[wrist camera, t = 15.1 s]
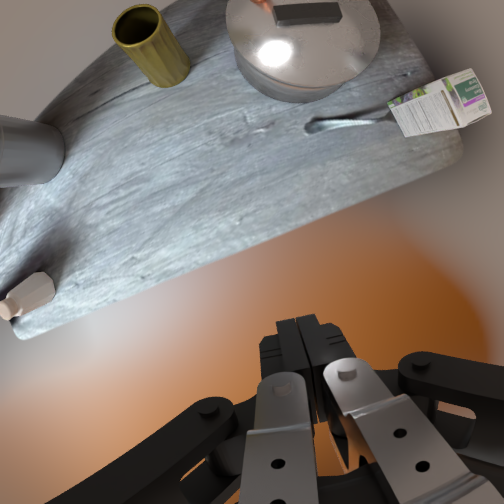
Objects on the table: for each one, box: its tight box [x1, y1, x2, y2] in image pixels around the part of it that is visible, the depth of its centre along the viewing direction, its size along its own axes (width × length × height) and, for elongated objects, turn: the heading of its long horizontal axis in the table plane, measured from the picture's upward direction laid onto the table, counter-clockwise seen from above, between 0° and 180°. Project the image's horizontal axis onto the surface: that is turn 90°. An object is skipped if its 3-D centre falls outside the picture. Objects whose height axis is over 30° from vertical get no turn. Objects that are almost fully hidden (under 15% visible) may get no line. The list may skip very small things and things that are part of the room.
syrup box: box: [387, 68, 492, 138], centre depth 32 cm, size 6×6×14 cm
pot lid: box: [226, 0, 380, 89], centre depth 27 cm, size 17×17×3 cm
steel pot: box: [234, 48, 342, 103], centre depth 33 cm, size 16×16×9 cm
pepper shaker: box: [0, 272, 56, 320], centre depth 38 cm, size 5×5×11 cm
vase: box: [112, 4, 190, 88], centre depth 30 cm, size 6×6×14 cm
